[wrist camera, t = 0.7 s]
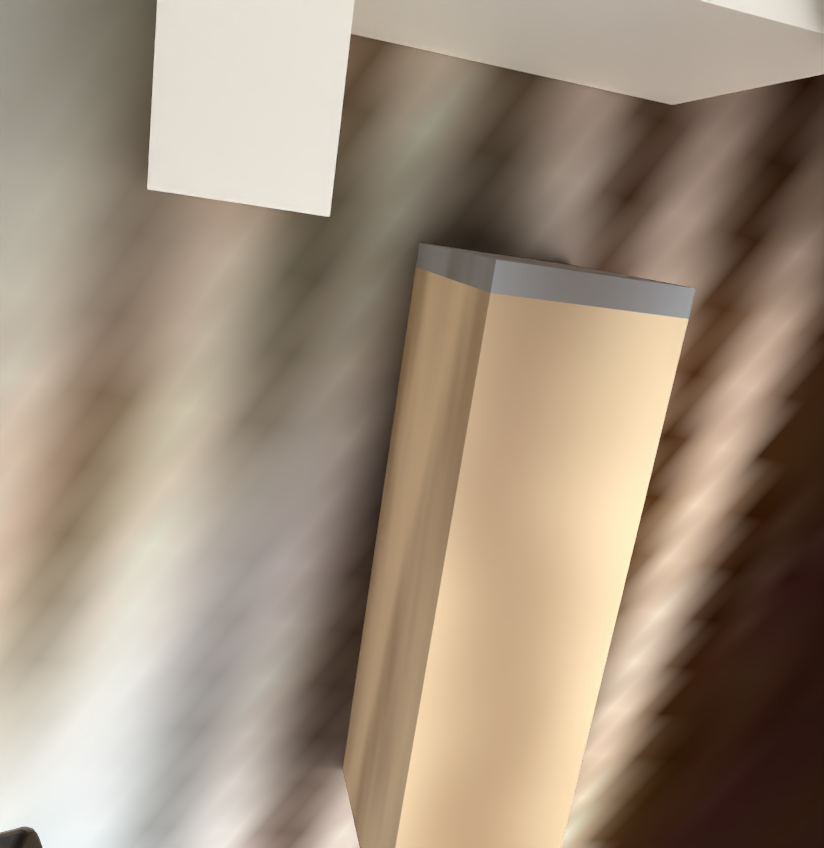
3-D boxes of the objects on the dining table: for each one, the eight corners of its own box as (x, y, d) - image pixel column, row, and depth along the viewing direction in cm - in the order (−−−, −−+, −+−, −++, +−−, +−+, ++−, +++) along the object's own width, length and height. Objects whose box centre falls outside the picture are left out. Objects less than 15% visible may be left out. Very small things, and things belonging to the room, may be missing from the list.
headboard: (687, 36, 19) (1040, -85, 11) (637, 263, 20) (916, 306, 12) (-346, -224, 13) (-1262, -908, 5) (-314, 118, 14) (-984, 18, 6)
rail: (571, 264, 20) (695, 288, 15) (473, 762, 24) (544, 918, 18) (419, 242, 18) (495, 259, 13) (342, 769, 22) (379, 937, 17)
